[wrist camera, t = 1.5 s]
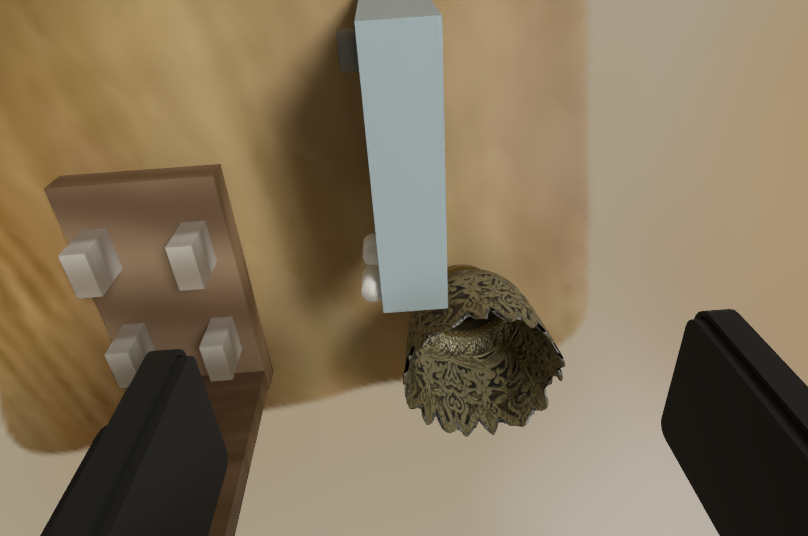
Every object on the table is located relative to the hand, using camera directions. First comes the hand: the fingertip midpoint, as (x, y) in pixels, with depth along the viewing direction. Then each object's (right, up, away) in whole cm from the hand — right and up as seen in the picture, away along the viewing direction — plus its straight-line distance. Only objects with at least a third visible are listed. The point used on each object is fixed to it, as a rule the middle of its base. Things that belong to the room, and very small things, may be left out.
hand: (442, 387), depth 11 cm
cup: (+3, +1, +22) cm, 22 cm away
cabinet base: (-14, +2, +20) cm, 24 cm away
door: (-1, +10, +15) cm, 19 cm away
